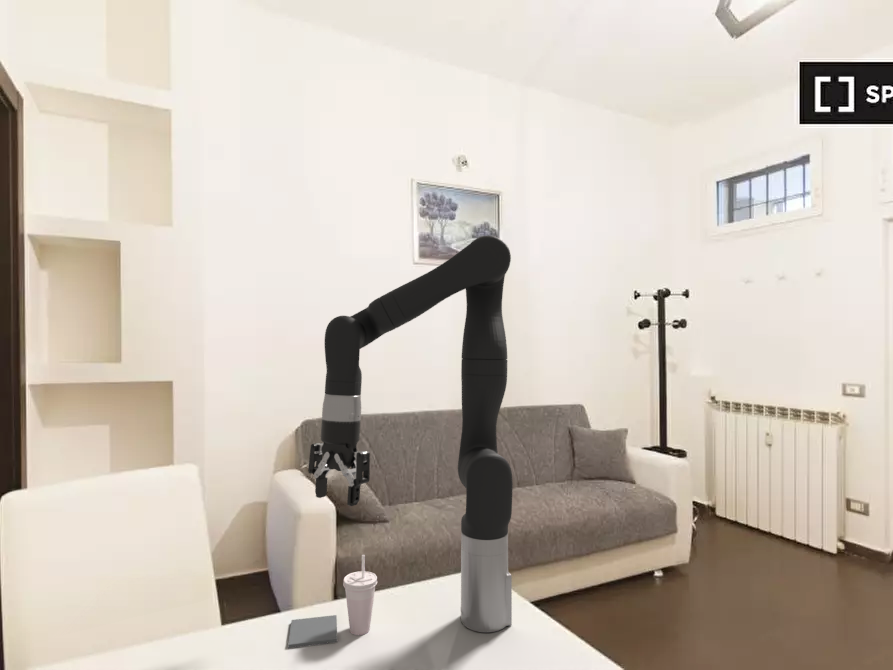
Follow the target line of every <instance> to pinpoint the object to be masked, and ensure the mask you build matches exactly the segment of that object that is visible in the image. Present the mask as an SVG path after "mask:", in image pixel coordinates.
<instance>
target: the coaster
mask: <svg viewBox="0 0 893 670" xmlns="http://www.w3.org/2000/svg"><path fill="white" fill-rule="evenodd" d="M337 622H338V619H337V614H333V615H324V616H315V617H308V618H307V617H306V618H297V619H291V621H290V630H289V637H288V644H287V645H288V646H287V647H288V649H291V648H290V647H294V648H301V647H300V646H302V647H309V645H310V646H317V645H326V644H332V643H334V644H335V643H338V626H337V625H338V623H337Z"/></svg>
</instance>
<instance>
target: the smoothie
mask: <svg viewBox="0 0 893 670" xmlns="http://www.w3.org/2000/svg"><path fill="white" fill-rule="evenodd" d="M365 557H366V555H365V554H361V570H360V571H359V570H358V571H355V572H350V573H348V574H347V575H346V576H344V578H343V584H342V586H343V588H344V589H345V591H344V592H345V599H346V606H347V616H348V617H347V618H348V625H349V632H350V633H351V634H352V635H354V636H363V635H366V634H368V633H369V632H370V629H371V622H372V616H373V615H372V614H373V607H374V600H375V599H374V598H375V590H376V585H377V584H378V576H377V575H376V573H374V572H371V571H366V568H365V566H366V565H365V564H366V563H365V561H366V560H365V559H366V558H365Z"/></svg>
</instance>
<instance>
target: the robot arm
mask: <svg viewBox="0 0 893 670" xmlns="http://www.w3.org/2000/svg"><path fill="white" fill-rule="evenodd" d="M511 259H512V257H511V251H510V248H509V247H508V245H507V243H506V242H505V241H504V240H503V239H501V238H499V237H497V236H493V235H483V236H479V237H477V238H474V239H473V240H472V241H471V242H470V243H469V244H468V245H466V246H465V247H464V248H463V249H461V250H460V251H459V252H457V253H456V254H455V255H454V256H452V257H451V258H449V259H448V260H445V262H443V263H441V264H440V265H438V266H437V267H435V268H433V269H432V270H430V271H428V272H426V273H424V274H422V275H420V276H419V277H416V278H414V279H413V280H409V281H408V282H406V283H405V284H403V285H400V286H399V287H396V288H395V289H393V290H391V291H389V292H387V293H385V294H383V295H381V296H379V297H378V298H376V299H374V300H373V301H371V302H370V303H369V304H368V306H366V307H365V308H364V309H362V310H360V311H358V312H357V313H355V314H353V315H350V316H348V315H339V316H336V317H334V318H333V319H332V318H331V320H330V321H329V323H328V324H327V326H326V329H325V332H324V355H325V365H326V374H325V385H324V386H325V387H324V396H323V397H324V398H323V403H322V407H321V408H322V409H321V410H322V411H321V412H322V413H321V425H320V441H321V442H316V443H311V445H310V452H309V460H308V469H307V472H308V474H310V475H311V474H313V476H314V478H315V487H314V489H315V490H314V492H315V497H316V498H319V499H321V498H324V497H326V496H327V494H328V493H327V489H328V477H327V476H328V474H329V473H330V472H331V471H332V470H335V471H338V472H341V474H342V475H343V477H345V478H346V482H348V487H347V500H346V501H347V503H346V504H347V506H348V507H353V506H356V505H358V503H359V502H360V497H361V494H360V493H361V487H362V486H361V485H362V484H363V485H364V484H367V483H370V469H371V468H370V466H371V464H370V463H371V453H370V451H369V450H364V451H360V450H359V451H358V447H357V445H358V443H359V441H360V439H361V438H360V437H361V436H360V435H361V419H362V399H361V398H362V379H363V378H362V376H363V375H362V374H363V373H362V370H361V369H362V368H360V350H361V349H362V348H365V347H366V346H368V345H370V344H371V343H373V342H375V341H376V340H377V339H379V338H380V337H382V336H384V335H385V334H386V333H387V334H388V333H389V332H391V331H393V330H396V329H398V328H399V327H401V326H403V325H405V324H407V323H409V322H411V321H413V320H414V319H416V318H418V317H419V316H421V315H423V314H425V313H426V312H427V311H430V309H432V308H434V307H435V306H437V305H438V304H440V303H441V302H442V301H444V300H445V299H448V298H449V297H452V296H453V295H455V294H457V293H459V292H461V291H464V290H465V296H466V313H465V321H464V328H463V334H462V335H463V336H462V343H461V344H462V347H461V368H460V369H461V370H460V372H461V373H460V374H461V375H460V377H461V414H462V416H461V418H462V419H461V420H462V423H461V425H462V427H461V436H460V443H459V445H460V446H459V452H458V461H457V473H458V478H459V480H460V482H461V484H462V486H463V487H464V488H465V490H466V491H465V492H466V493H465V494H466V495H465V496H466V497H465V501H466V502H465V514H463V515H462V517H461V522H460V540H461V541H460V546H461V548H460V549H461V550H460V560H461V561H460V621H461V623H462V624H463V626H464V627H465V628H468V629H469V630H471V631H474V632H478V633H493V632H498V631H501V630H503V629H505V628H506V627H507V626H512V623H513V622H512V621H513V619H512V616H513V615H512V613H513V612H512V609H513V608H512V607H513V606H512V605H513V603H512V602H513V601H512V600H513V598H512V596H513V595H512V593H513V592H512V589H513V587H512V586H513V585H512V584H513V580H512V579H513V577H512V574H511V572H509V571H510V570H509V524H510V521H511V520H512V511H513V509H512V508H513V488H514V487H513V473H512V468H511V465H510V464H509V462H508V461H507V459H506V458H505V457H503V455H500V454H499V453H498V441H497V424H498V423H497V422H498V416H499V414H500V410H501V407H502V403H503V399H504V396H505V392H506V388H507V383H508V345H507V336H506V331H505V325H504V317H503V294H504V282H505V278H506V277H505V276H506V274H507V272H508V270H509V268H510V265H511V261H512V260H511Z"/></svg>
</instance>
